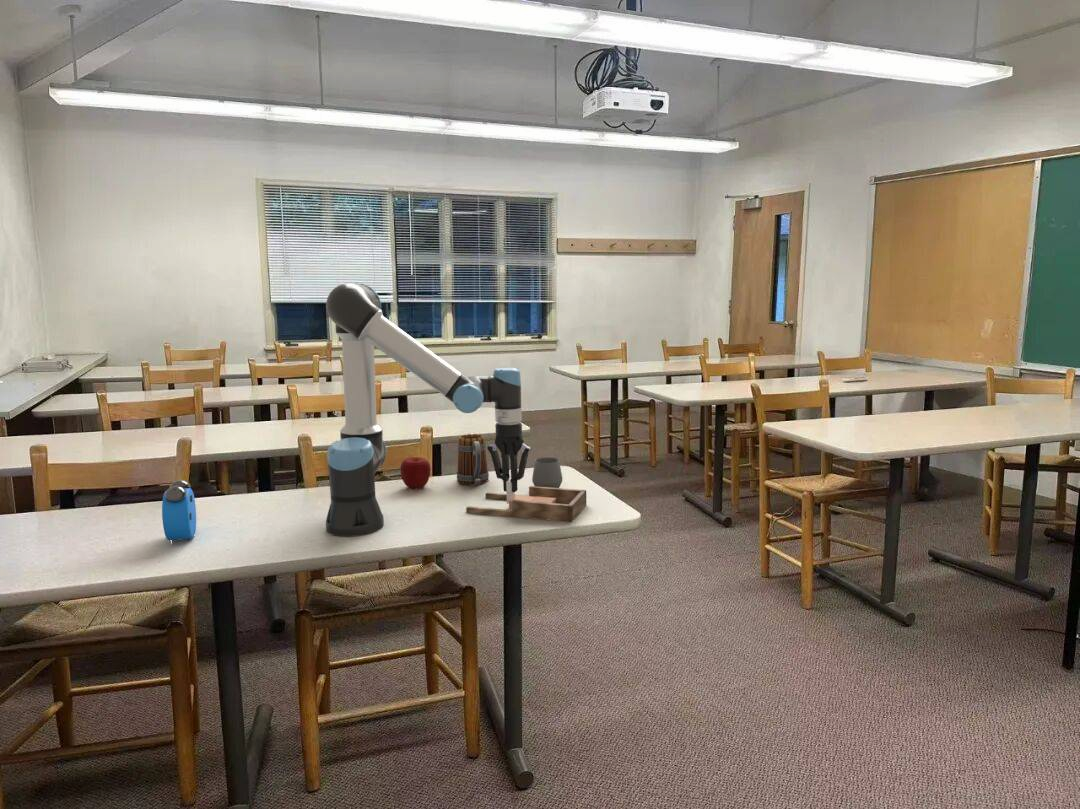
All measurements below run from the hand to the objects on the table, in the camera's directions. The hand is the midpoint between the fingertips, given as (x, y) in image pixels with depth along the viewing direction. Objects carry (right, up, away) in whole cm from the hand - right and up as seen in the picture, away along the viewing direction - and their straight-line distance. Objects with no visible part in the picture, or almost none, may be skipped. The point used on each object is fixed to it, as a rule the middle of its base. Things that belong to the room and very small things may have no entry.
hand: (510, 502), depth 206 cm
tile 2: (+9, -2, -3) cm, 10 cm away
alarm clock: (-85, -7, -20) cm, 87 cm away
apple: (-31, +1, +22) cm, 38 cm away
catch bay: (+5, -2, -1) cm, 5 cm away
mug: (-13, +3, +26) cm, 29 cm away
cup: (+11, +1, +15) cm, 19 cm away
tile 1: (+3, -2, -1) cm, 4 cm away
